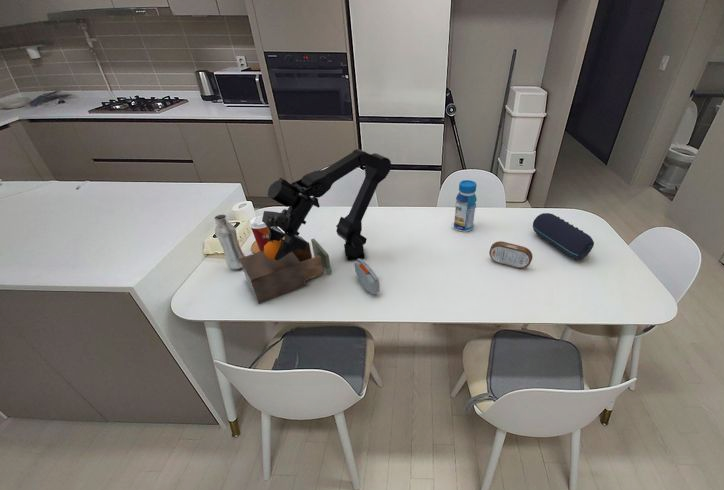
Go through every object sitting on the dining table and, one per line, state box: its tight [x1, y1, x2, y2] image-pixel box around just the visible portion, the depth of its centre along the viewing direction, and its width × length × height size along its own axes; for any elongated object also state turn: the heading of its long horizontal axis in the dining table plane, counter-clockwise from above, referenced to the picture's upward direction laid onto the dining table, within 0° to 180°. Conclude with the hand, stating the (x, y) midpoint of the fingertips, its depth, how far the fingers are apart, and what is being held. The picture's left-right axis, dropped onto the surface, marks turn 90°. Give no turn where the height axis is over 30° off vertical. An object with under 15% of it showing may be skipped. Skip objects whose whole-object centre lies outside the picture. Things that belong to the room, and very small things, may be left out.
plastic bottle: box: [214, 214, 246, 270], centre depth 120 cm, size 6×7×20 cm
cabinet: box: [239, 251, 307, 304], centre depth 115 cm, size 16×14×10 cm
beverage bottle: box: [453, 179, 478, 233], centre depth 143 cm, size 8×8×20 cm
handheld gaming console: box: [353, 258, 381, 295], centre depth 115 cm, size 14×3×8 cm, turn 32°
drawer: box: [292, 238, 332, 281], centre depth 120 cm, size 16×12×8 cm
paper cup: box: [248, 215, 269, 252], centre depth 129 cm, size 8×8×14 cm
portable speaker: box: [532, 212, 595, 261], centre depth 135 cm, size 25×10×10 cm, turn 26°
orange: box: [264, 240, 281, 261], centre depth 108 cm, size 6×6×7 cm
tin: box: [489, 240, 534, 269], centre depth 125 cm, size 15×3×8 cm, turn 65°
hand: (271, 255), depth 108 cm, fingers closed on orange, 6 cm apart
